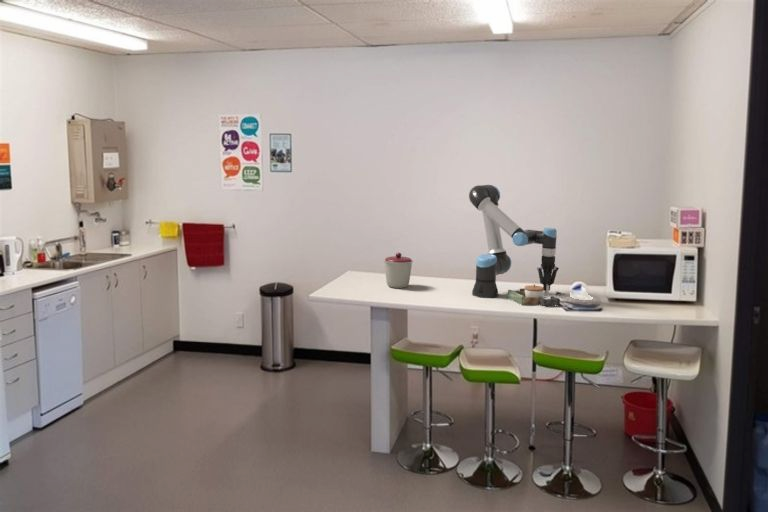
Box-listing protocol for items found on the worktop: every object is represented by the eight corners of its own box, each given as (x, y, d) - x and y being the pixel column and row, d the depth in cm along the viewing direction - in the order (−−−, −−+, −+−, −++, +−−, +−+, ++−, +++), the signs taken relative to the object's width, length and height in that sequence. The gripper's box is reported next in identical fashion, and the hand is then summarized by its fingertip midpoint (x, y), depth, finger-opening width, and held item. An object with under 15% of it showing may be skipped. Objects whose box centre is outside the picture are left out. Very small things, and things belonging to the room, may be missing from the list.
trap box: (526, 307, 366) (527, 298, 365) (503, 296, 393) (503, 287, 393) (559, 306, 371) (559, 297, 370) (534, 294, 399) (534, 286, 398)
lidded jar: (543, 303, 377) (544, 287, 375) (523, 302, 379) (524, 286, 377) (543, 299, 387) (543, 283, 385) (524, 298, 389) (524, 282, 388)
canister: (382, 283, 422) (383, 250, 419) (411, 283, 423) (412, 250, 419) (383, 289, 404) (384, 254, 401) (413, 289, 405) (414, 255, 401)
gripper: (541, 256, 375) (539, 298, 379) (562, 256, 379) (559, 296, 383) (535, 254, 383) (532, 295, 386) (555, 254, 386) (552, 294, 390)
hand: (546, 296), depth 385 cm, fingers closed
